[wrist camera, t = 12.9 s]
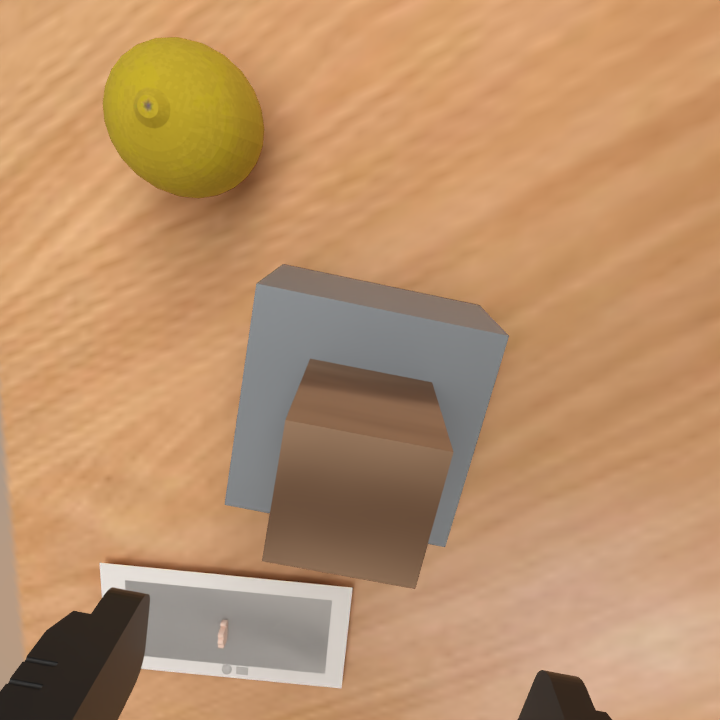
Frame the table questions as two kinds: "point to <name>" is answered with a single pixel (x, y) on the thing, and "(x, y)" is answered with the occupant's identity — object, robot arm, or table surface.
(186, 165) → the lemon
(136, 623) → the robot arm
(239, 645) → the touchpad
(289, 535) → the walnut block
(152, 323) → the table surface
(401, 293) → the base block
